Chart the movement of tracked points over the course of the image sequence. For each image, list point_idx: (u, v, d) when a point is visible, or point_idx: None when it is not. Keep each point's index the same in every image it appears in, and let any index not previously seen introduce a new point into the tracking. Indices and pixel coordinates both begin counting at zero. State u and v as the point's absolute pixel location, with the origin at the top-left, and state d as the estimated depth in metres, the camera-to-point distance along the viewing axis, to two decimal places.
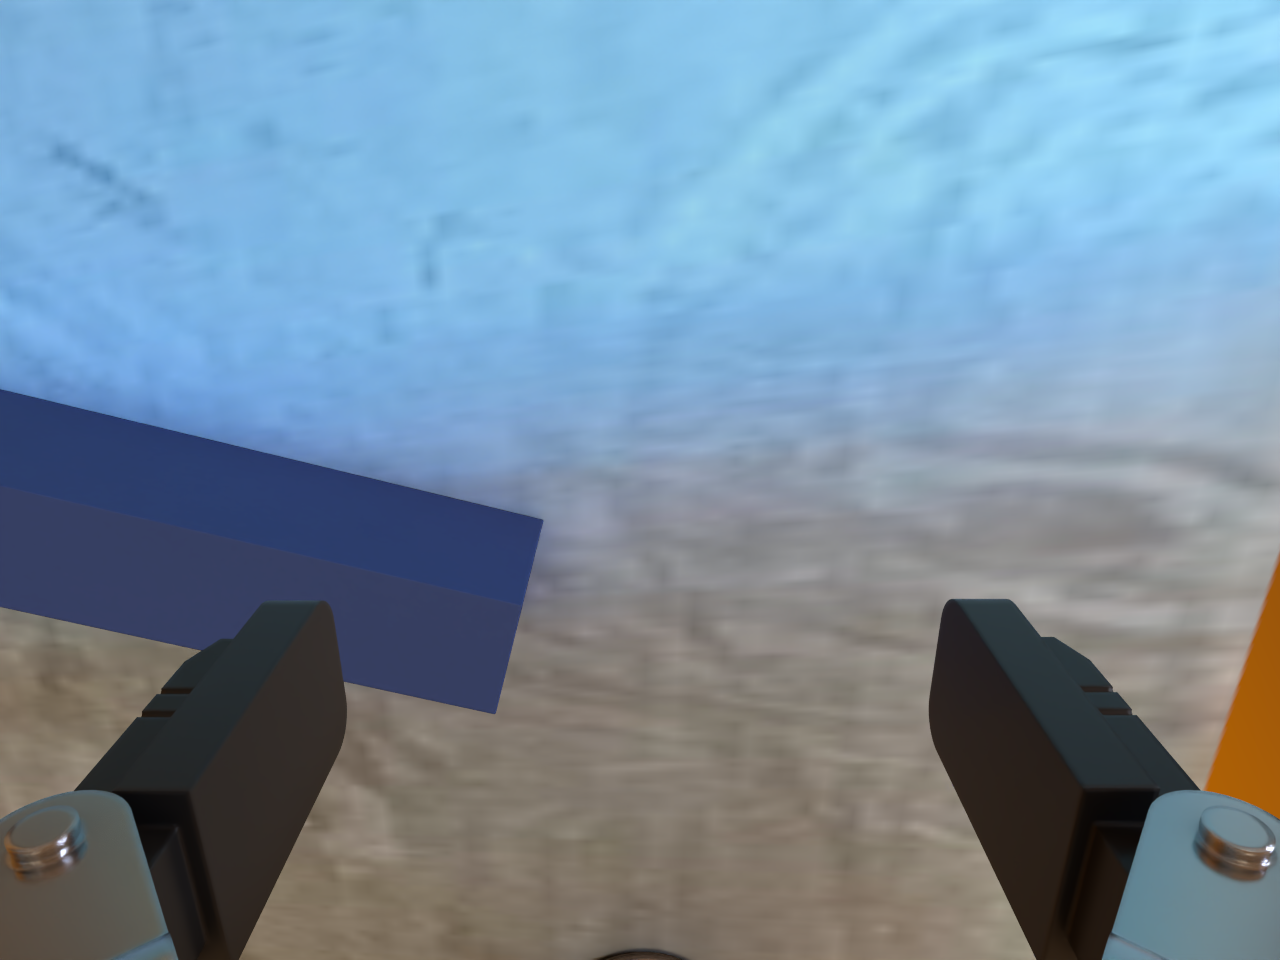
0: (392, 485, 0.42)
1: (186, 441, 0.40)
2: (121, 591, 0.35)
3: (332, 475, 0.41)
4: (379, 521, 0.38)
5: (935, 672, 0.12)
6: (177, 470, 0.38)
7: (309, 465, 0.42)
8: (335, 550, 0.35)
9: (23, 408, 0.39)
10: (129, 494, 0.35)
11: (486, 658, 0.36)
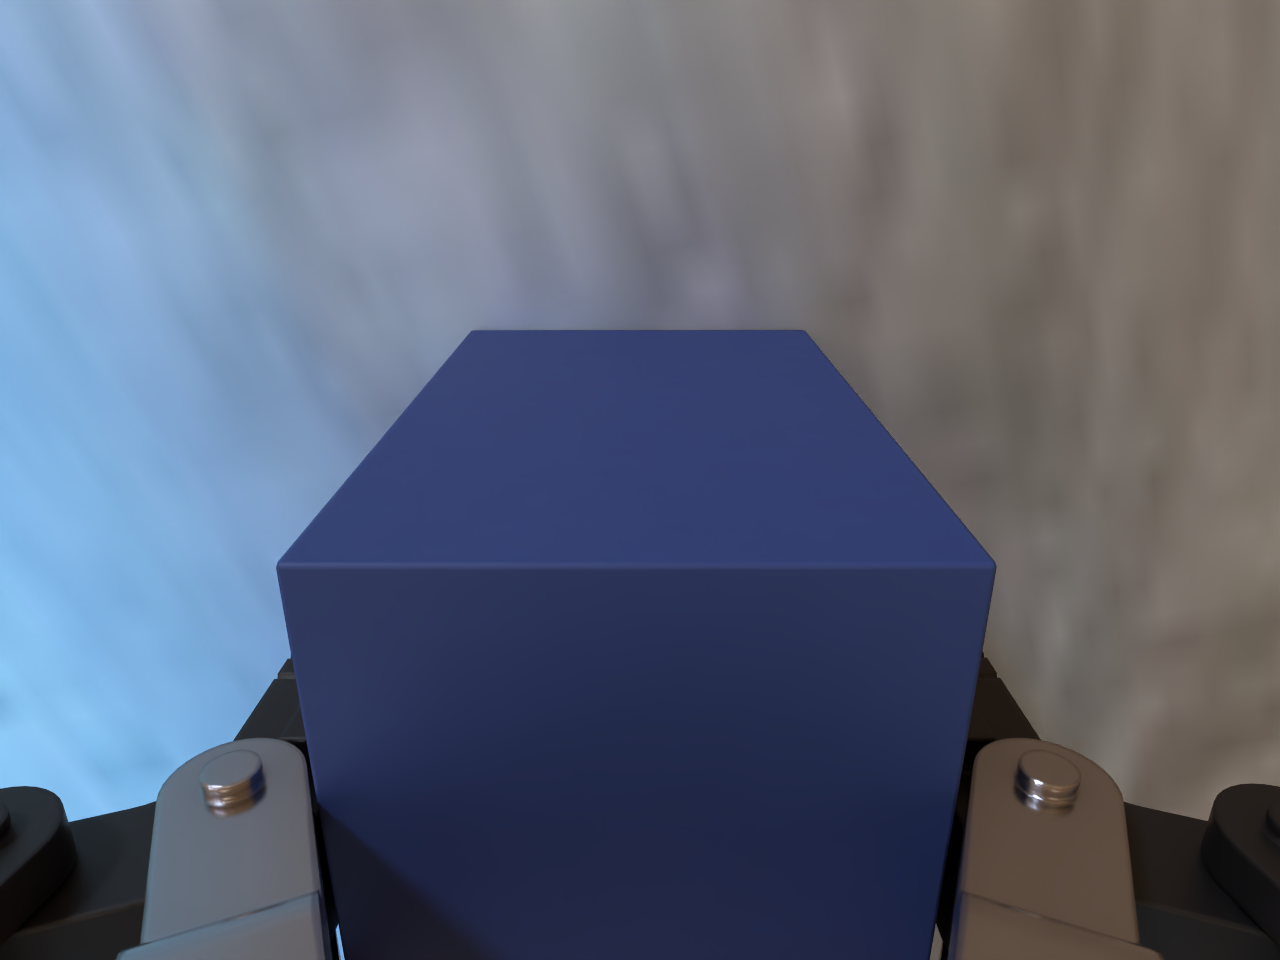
0: None
1: None
2: None
3: None
4: None
5: None
6: None
7: None
8: None
9: None
10: None
11: (650, 666, 0.07)
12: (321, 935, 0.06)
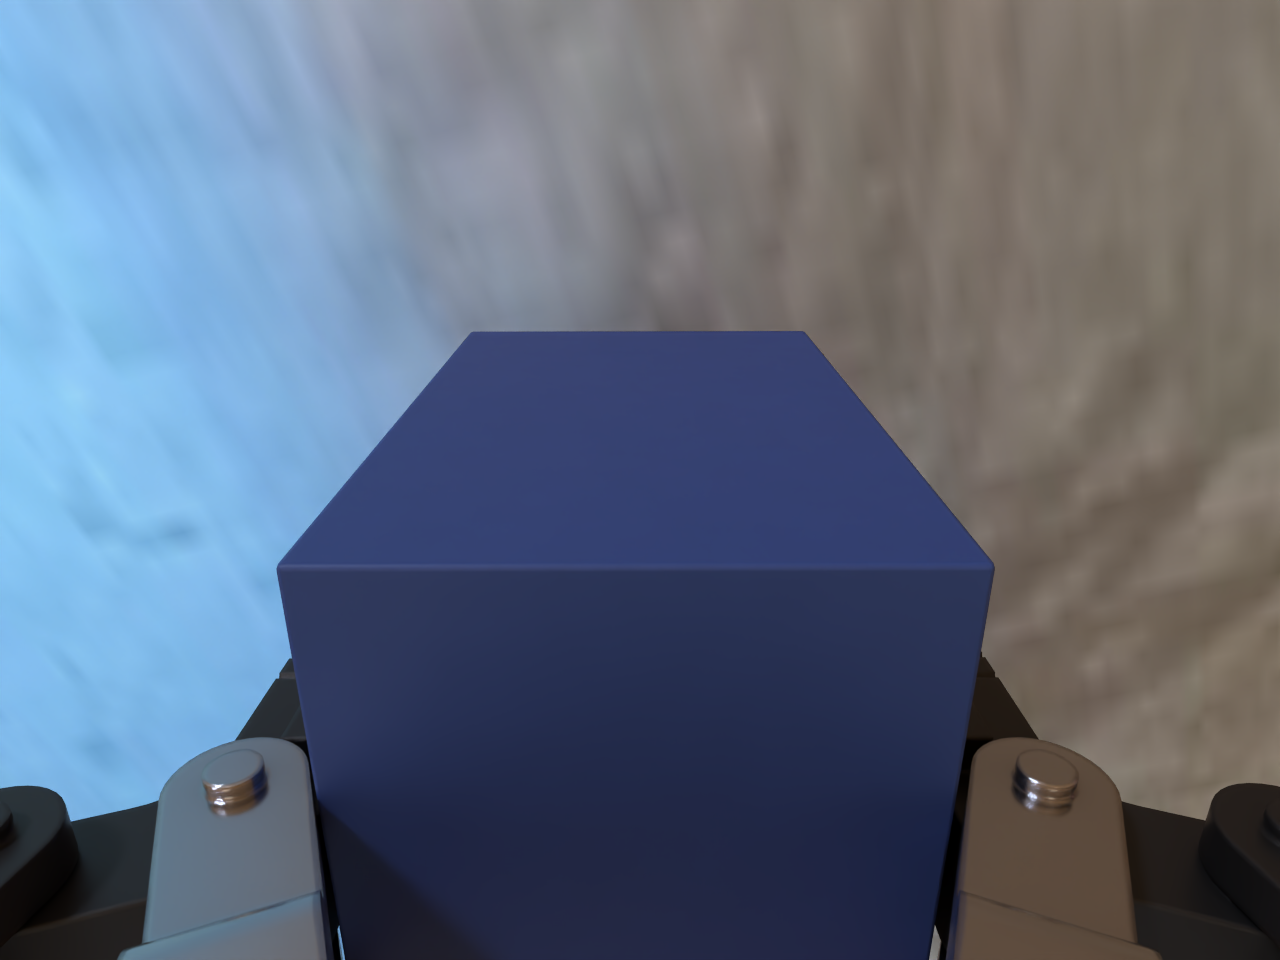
0: None
1: None
2: None
3: None
4: None
5: None
6: None
7: None
8: None
9: None
10: None
11: (648, 667, 0.07)
12: (323, 935, 0.06)
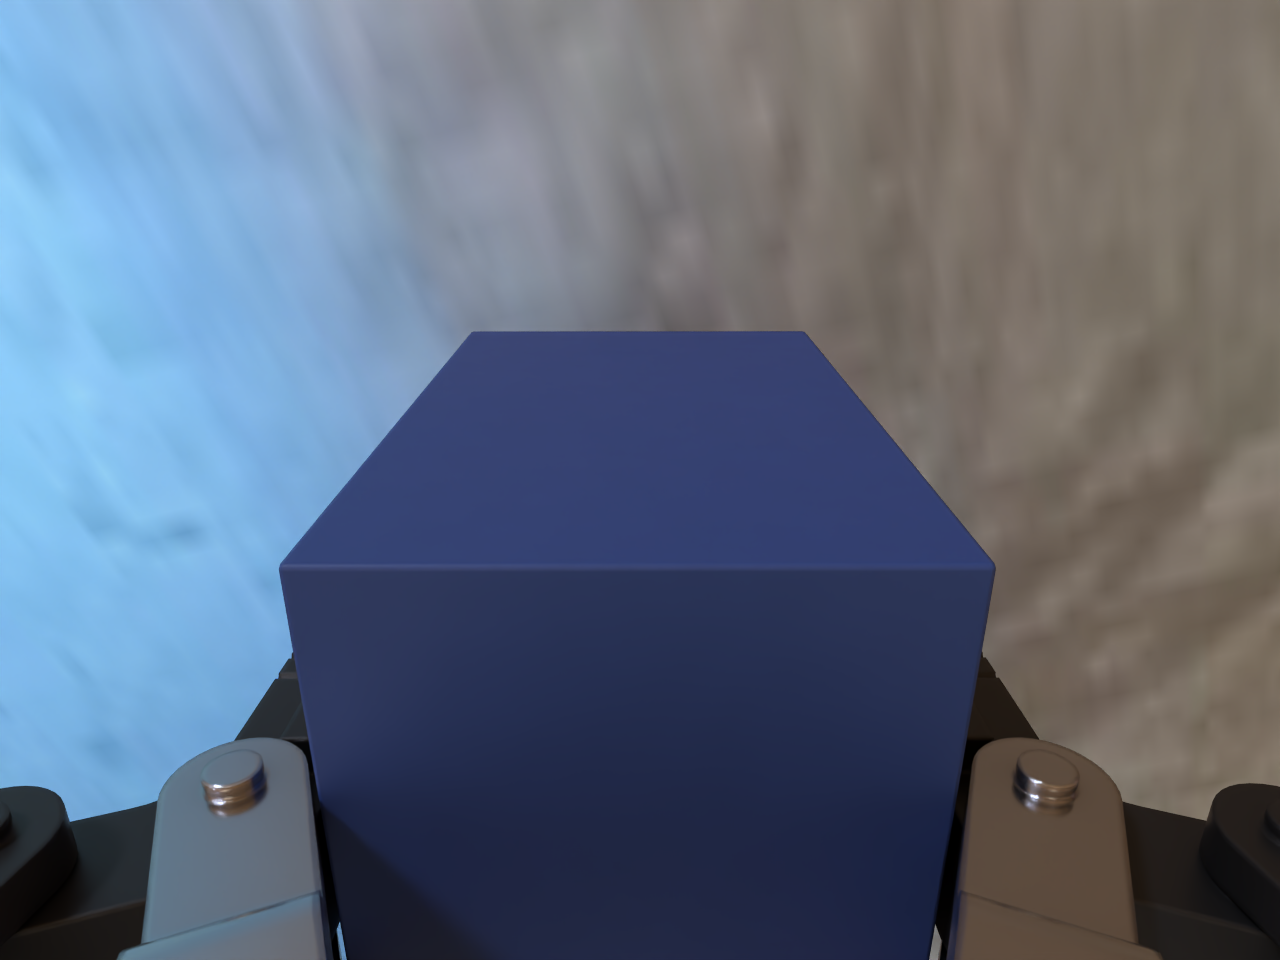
0: None
1: None
2: None
3: None
4: None
5: None
6: None
7: None
8: None
9: None
10: None
11: (649, 667, 0.07)
12: (322, 936, 0.06)
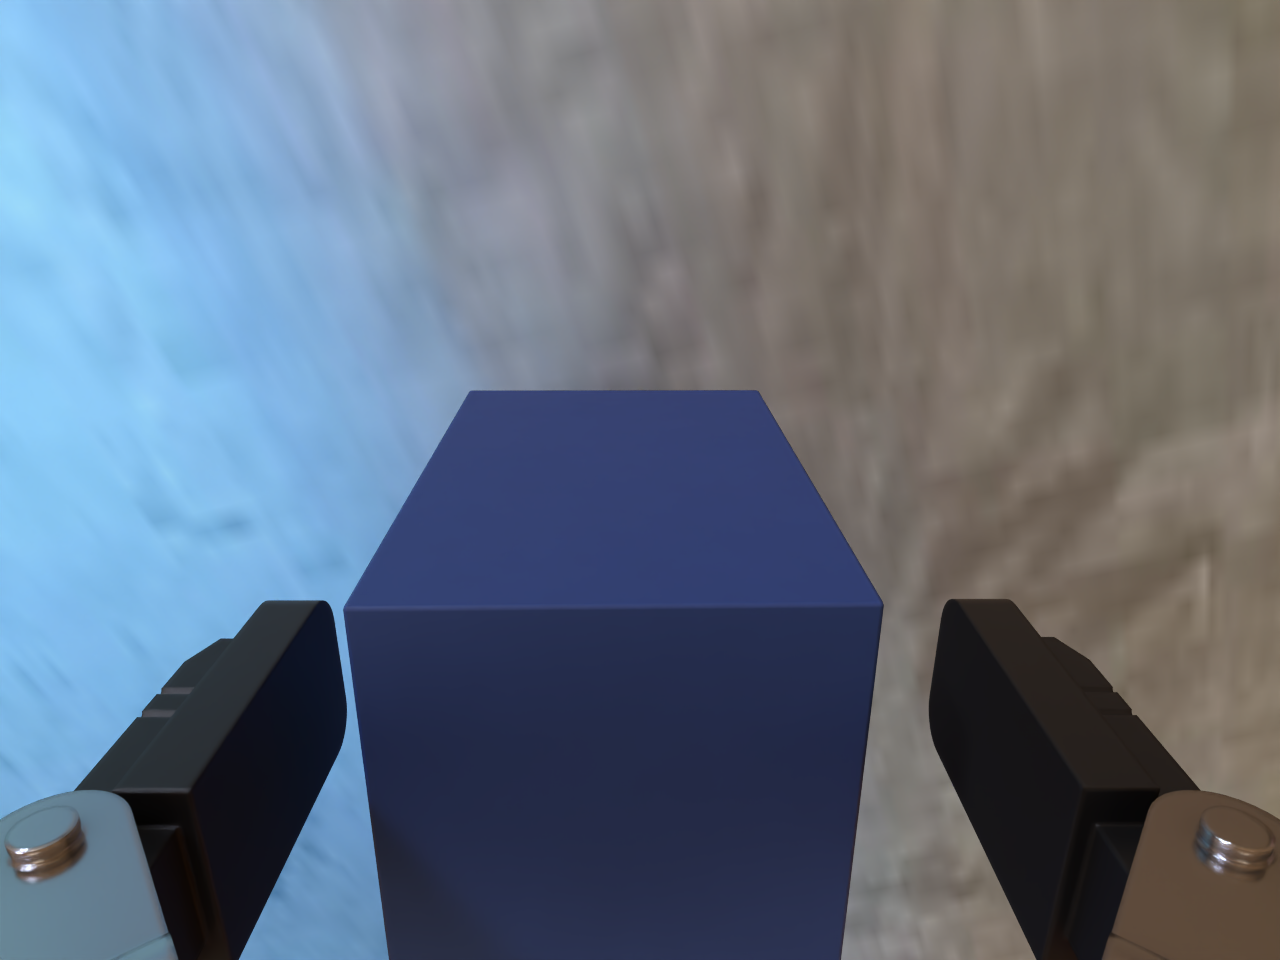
0: None
1: None
2: None
3: None
4: None
5: (935, 672, 0.12)
6: None
7: None
8: None
9: None
10: None
11: (626, 681, 0.09)
12: None
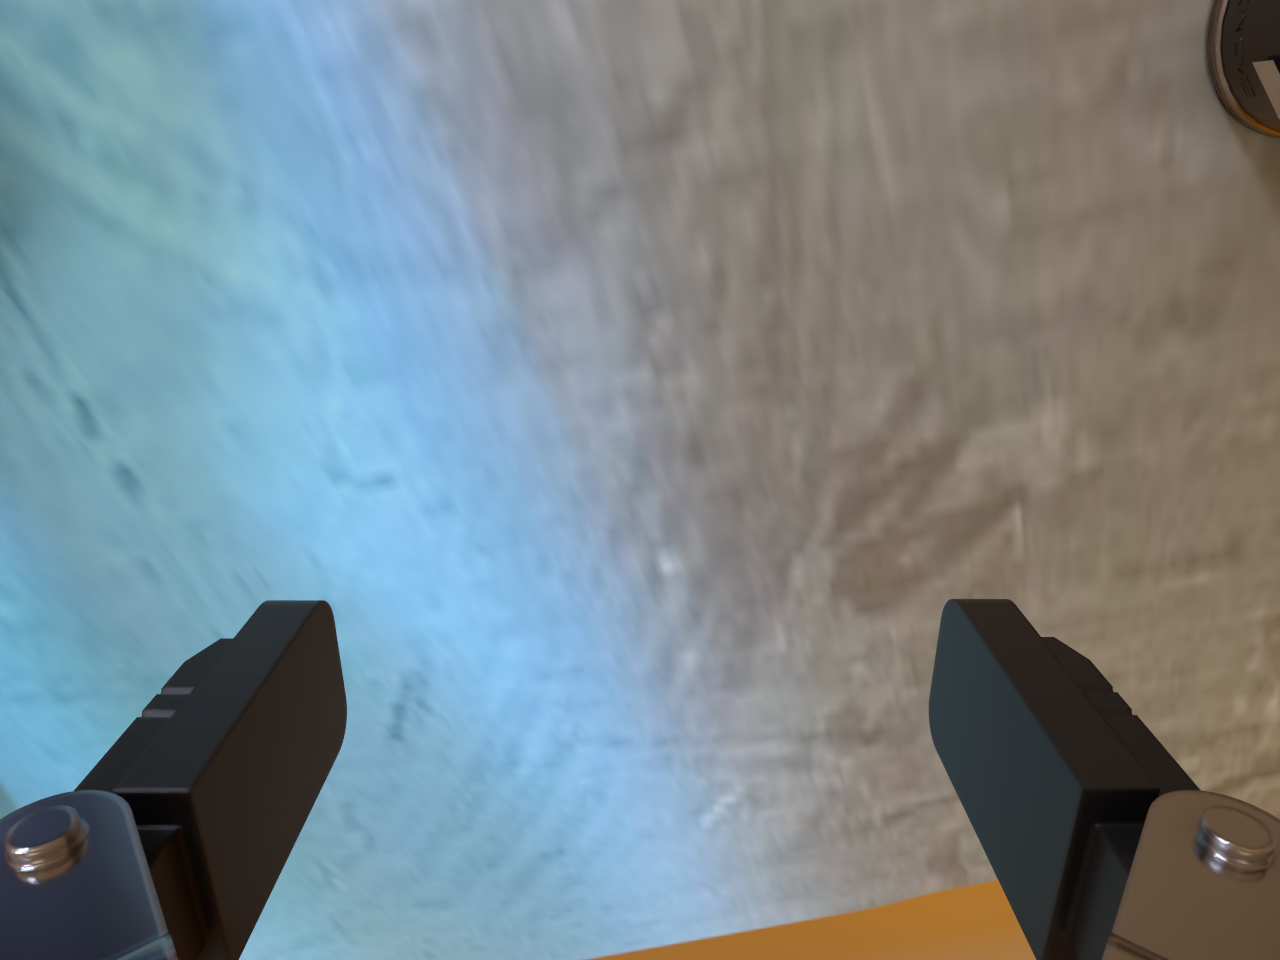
0: None
1: None
2: None
3: None
4: None
5: (935, 672, 0.12)
6: None
7: None
8: None
9: None
10: None
11: None
12: None
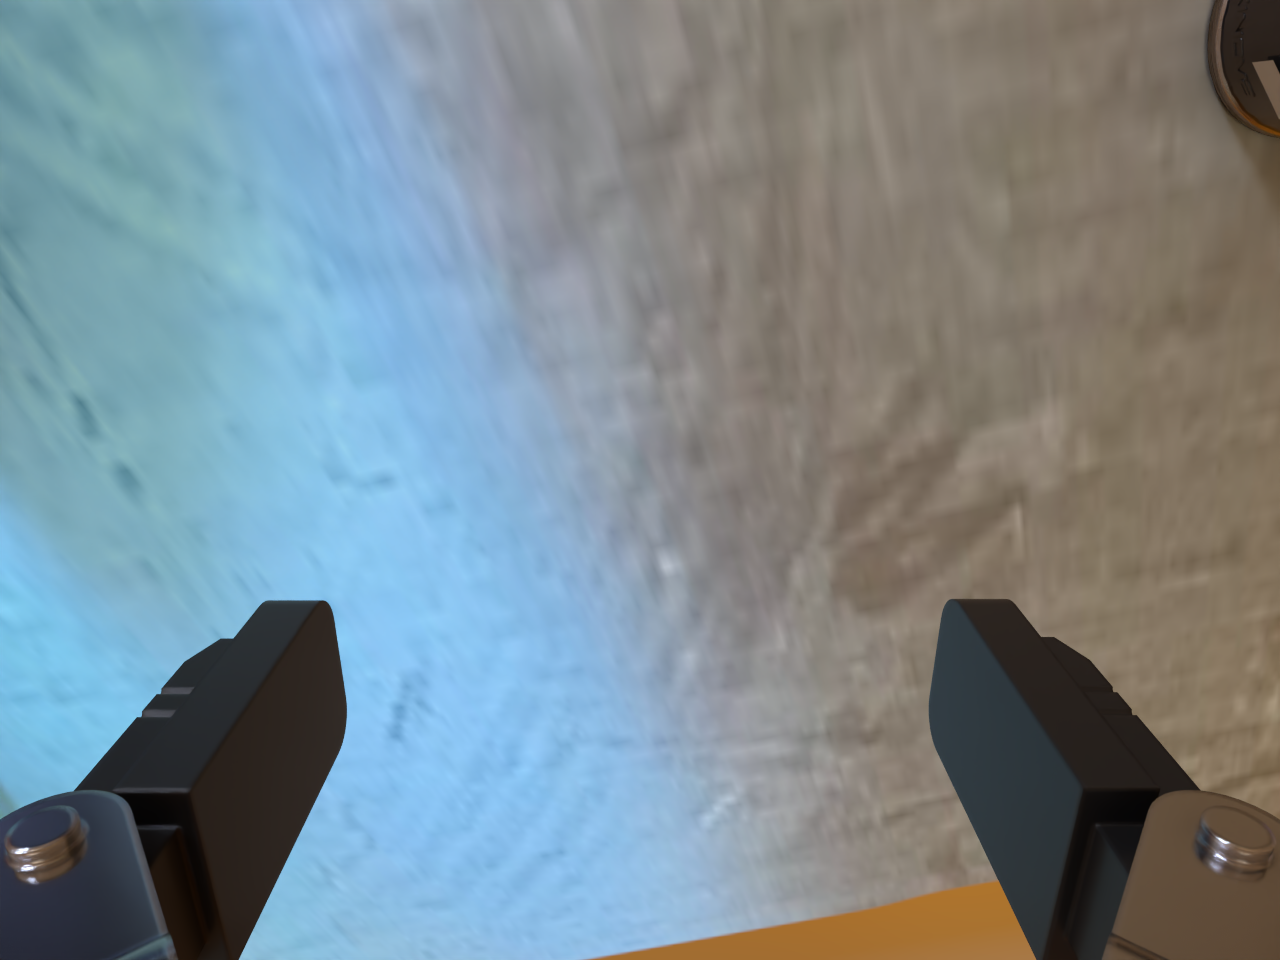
0: None
1: None
2: None
3: None
4: None
5: (935, 672, 0.12)
6: None
7: None
8: None
9: None
10: None
11: None
12: None
